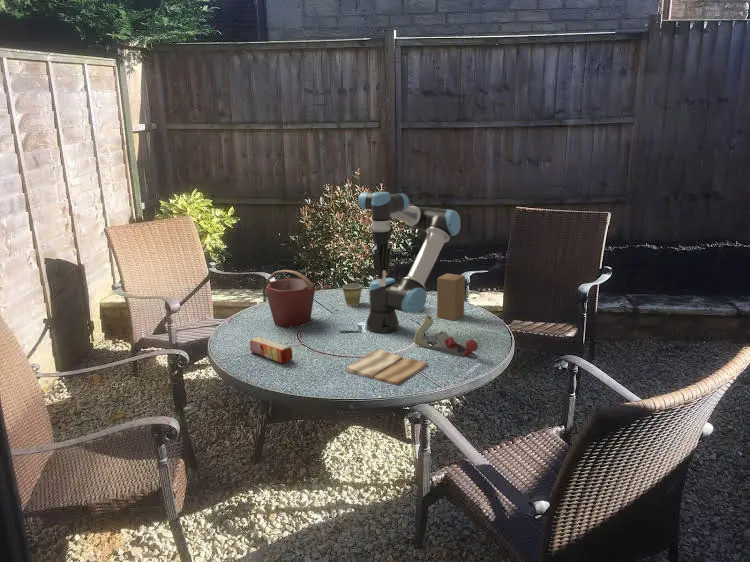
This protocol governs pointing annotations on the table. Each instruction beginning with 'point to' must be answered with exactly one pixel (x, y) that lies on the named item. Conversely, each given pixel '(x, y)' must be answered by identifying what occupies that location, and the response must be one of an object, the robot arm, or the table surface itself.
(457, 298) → the wooden block
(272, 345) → the snack package
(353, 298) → the ceramic cup
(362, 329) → the table surface
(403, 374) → the oak plank
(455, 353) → the hand plane
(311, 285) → the bucket
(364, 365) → the ash plank
